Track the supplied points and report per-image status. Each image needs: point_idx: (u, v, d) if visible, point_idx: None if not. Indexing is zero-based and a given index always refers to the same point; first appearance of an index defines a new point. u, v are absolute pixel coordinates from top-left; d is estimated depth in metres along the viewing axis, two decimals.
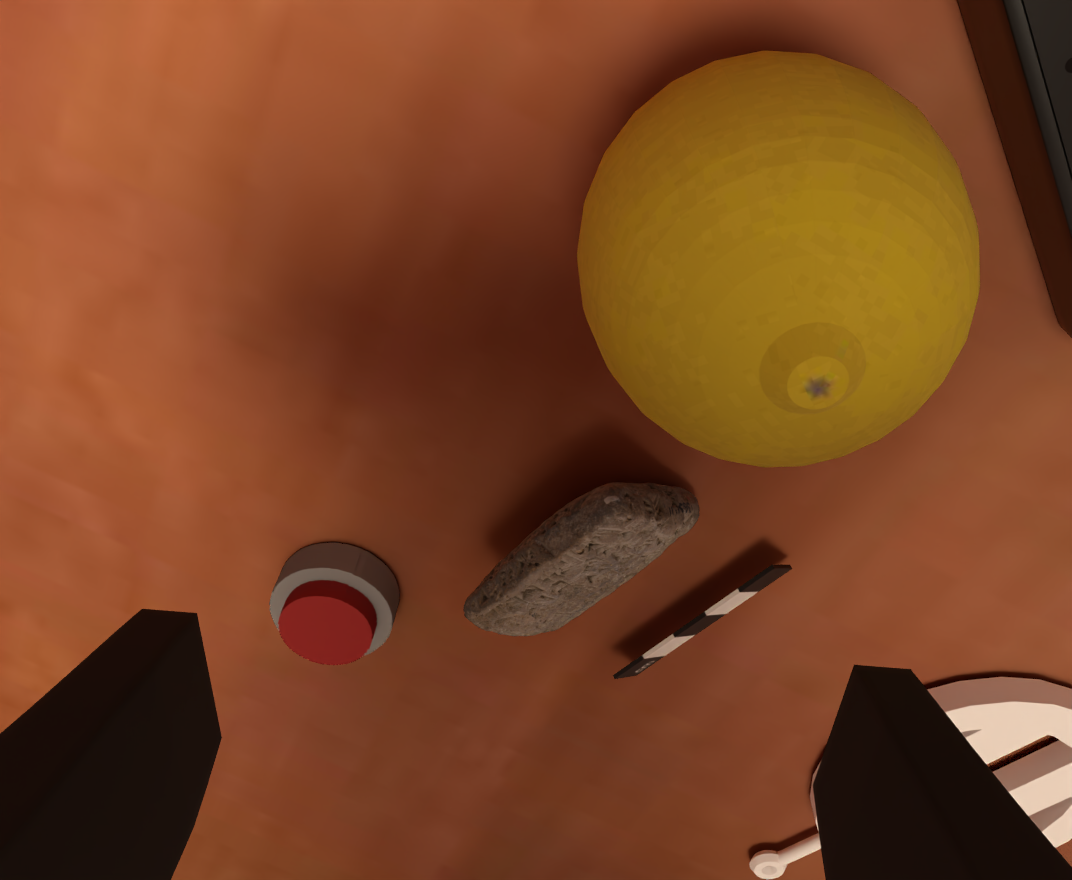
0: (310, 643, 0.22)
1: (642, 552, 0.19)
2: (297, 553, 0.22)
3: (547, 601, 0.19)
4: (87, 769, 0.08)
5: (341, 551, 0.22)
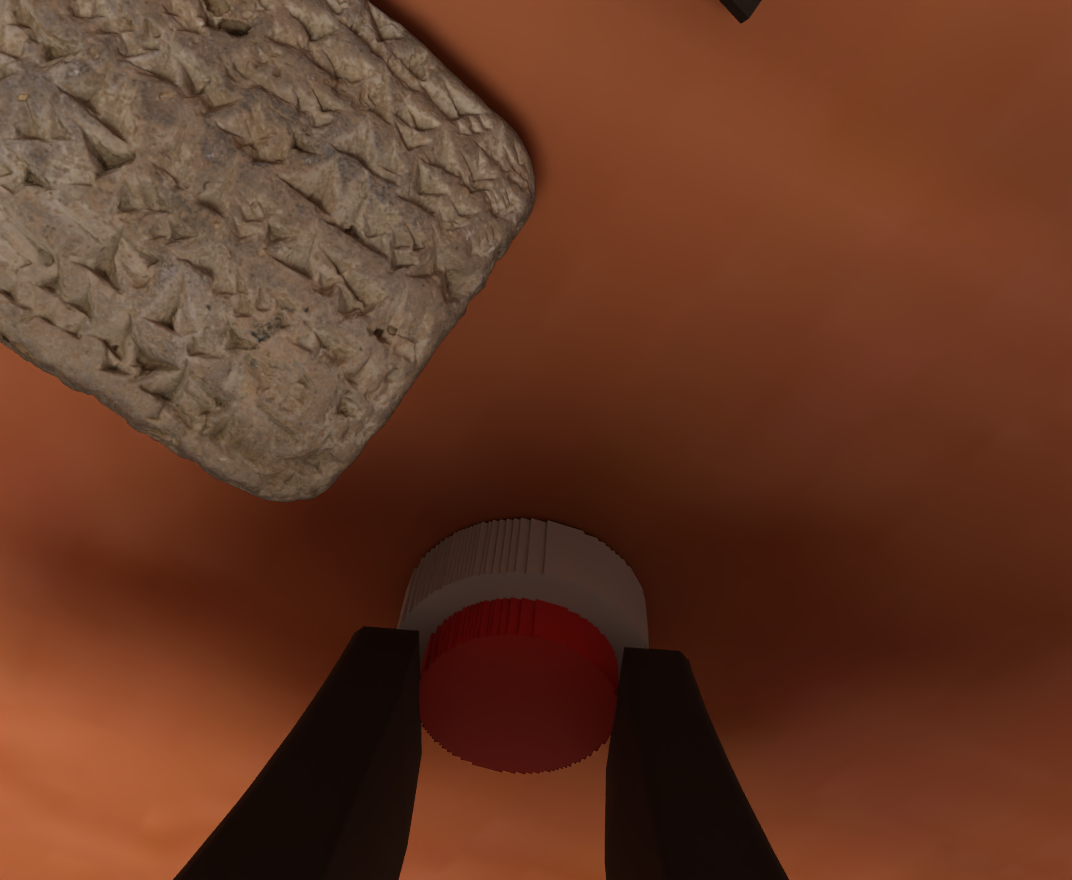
0: (553, 734, 0.10)
1: None
2: None
3: (189, 298, 0.06)
4: (364, 792, 0.08)
5: None
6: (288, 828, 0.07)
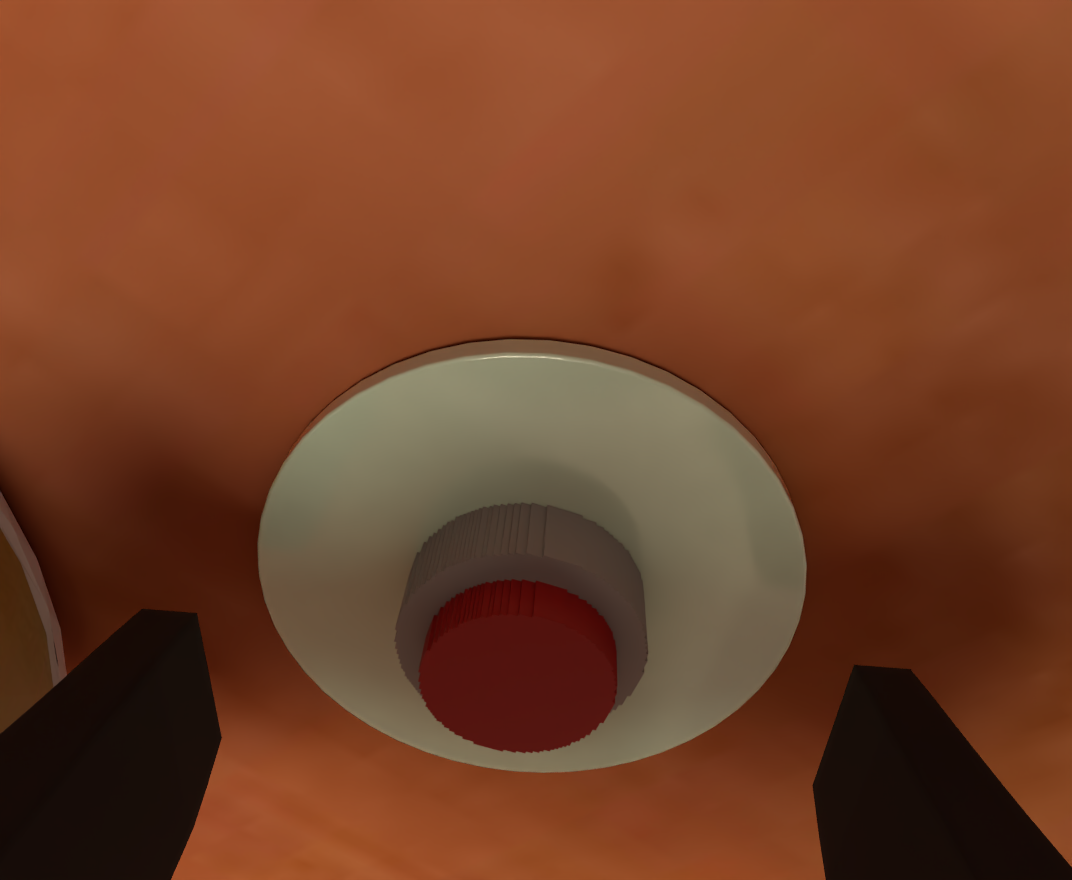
0: (553, 713, 0.11)
1: None
2: None
3: None
4: (87, 769, 0.08)
5: None
6: None
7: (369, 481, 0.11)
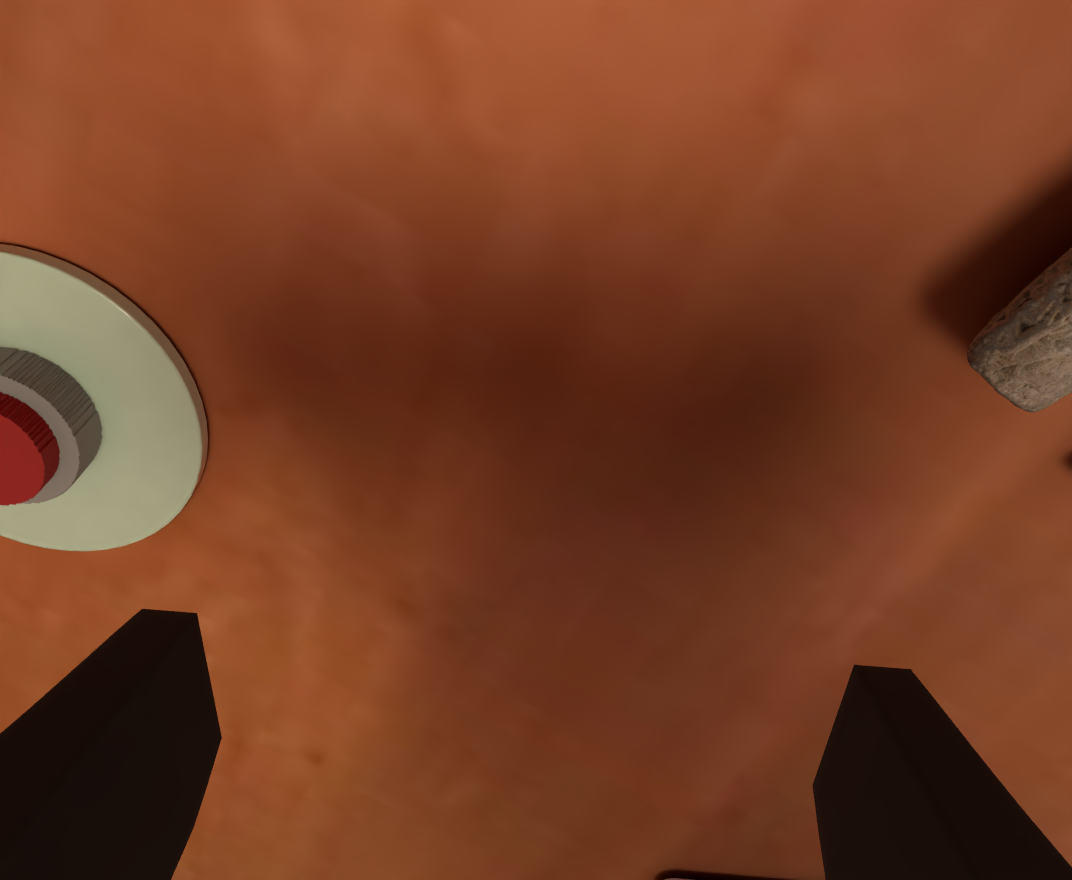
0: None
1: None
2: None
3: None
4: (87, 769, 0.08)
5: None
6: None
7: (51, 312, 0.17)
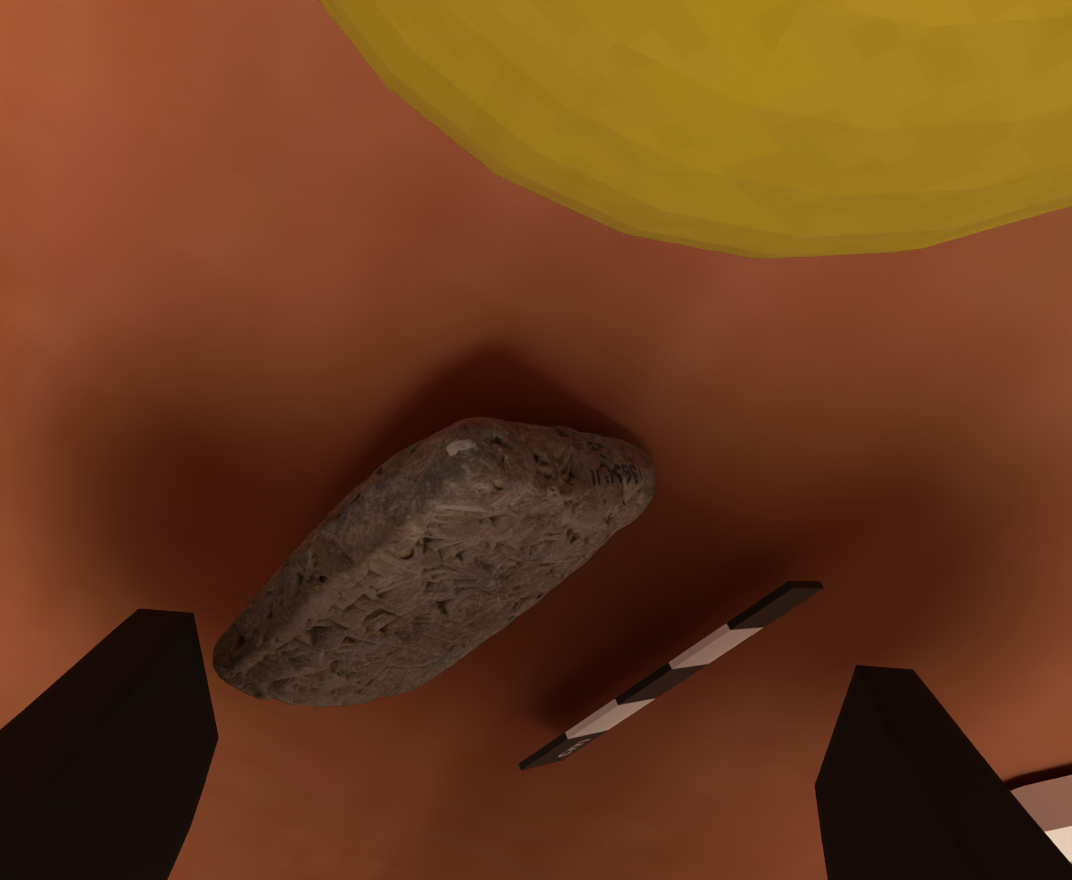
0: None
1: (540, 557, 0.10)
2: None
3: (361, 649, 0.10)
4: (82, 769, 0.08)
5: None
6: None
7: None
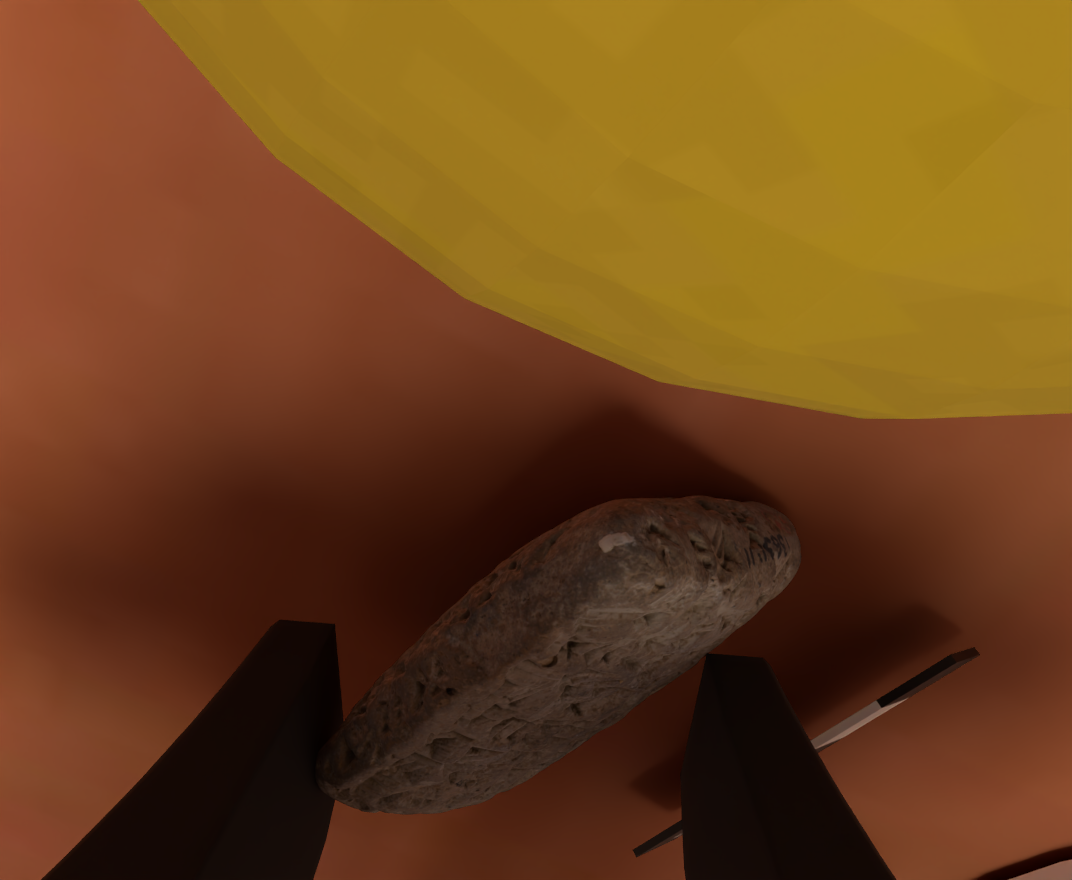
0: None
1: (689, 649, 0.09)
2: None
3: (486, 758, 0.09)
4: (259, 783, 0.08)
5: None
6: (172, 818, 0.07)
7: None
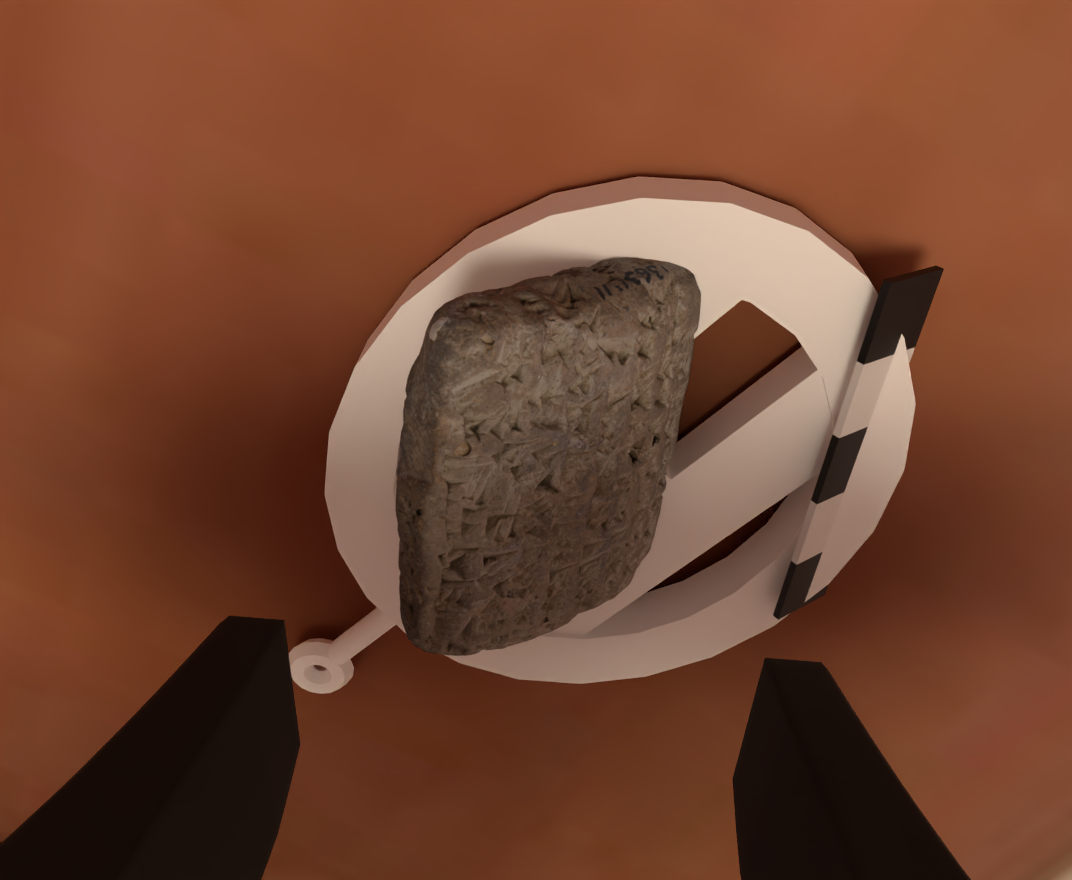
0: None
1: (599, 391, 0.10)
2: None
3: (507, 562, 0.10)
4: (196, 778, 0.08)
5: None
6: (102, 814, 0.07)
7: None
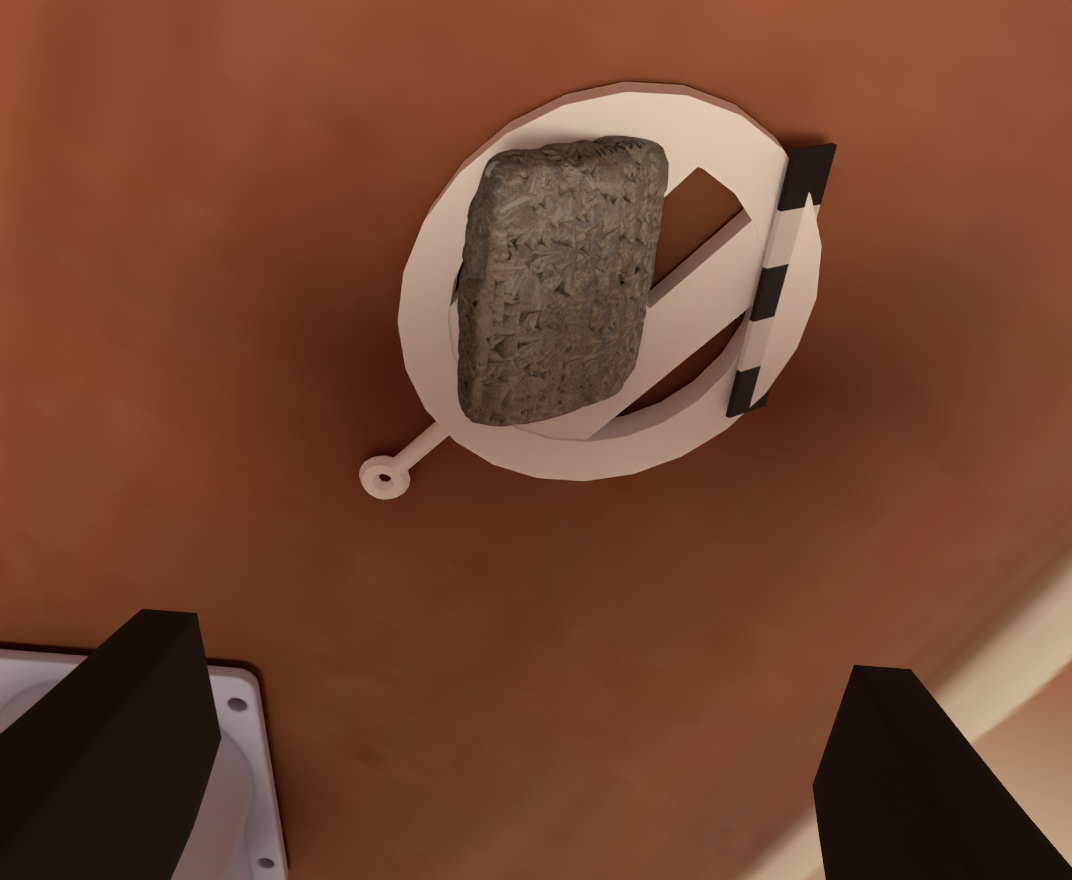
0: None
1: (597, 221, 0.14)
2: None
3: (533, 347, 0.15)
4: (87, 769, 0.08)
5: None
6: None
7: None
